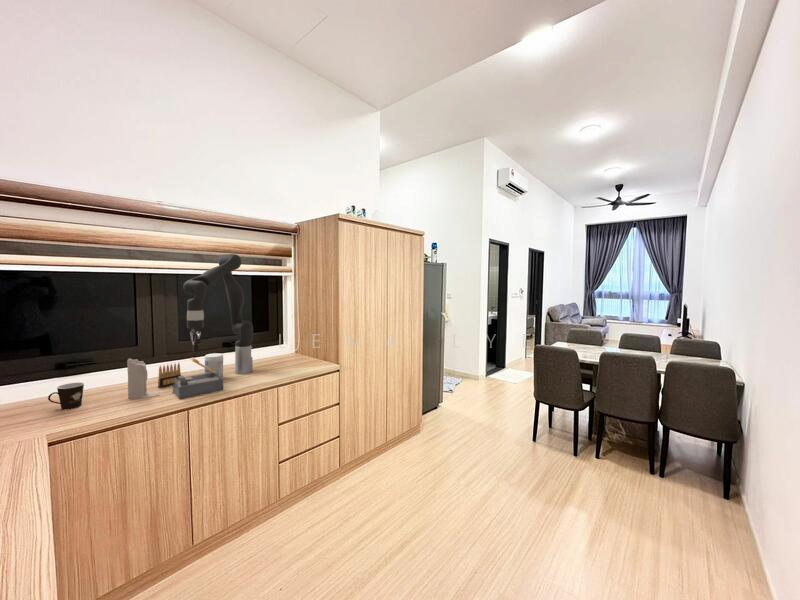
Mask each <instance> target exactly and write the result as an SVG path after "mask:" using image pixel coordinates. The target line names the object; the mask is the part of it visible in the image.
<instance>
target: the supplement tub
mask: <svg viewBox="0 0 800 600" xmlns="http://www.w3.org/2000/svg"><path fill="white" fill-rule="evenodd" d="M204 366H206V367H208V368H209V369H211V370H215V372H216V373H217V372H218V373H219V377H221V378H222V379H224V354H223V353H221V352H220V353H218V352H217V353H216V352H215V353H208V354H205V356H204ZM209 372H211V371H209V370H207V369H205V368H204V373H209Z"/></svg>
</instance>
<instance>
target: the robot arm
mask: <svg viewBox="0 0 800 600" xmlns="http://www.w3.org/2000/svg"><path fill="white" fill-rule="evenodd" d="M241 265H242V258H241V257H240V256H239V255H238V254H233V253H231V254H229V253H228V254H221V255H219V257H218V265H217V266H215V267H211V268H209V269H207V270H206V271H205V272H202V273H201V274H200V275H197V276H195V277H192V278H190V279H188V280H187V281H185V282H184V284H183V287H182V289H183V291H184V292H185V293H186V294H188V295H194V296H193V298H189V299H188V300H187V307H186V308H187V311H186V328H187V329H190V331H189V335H190V342H191V343H192V352H193V353H198V352H199V345H200V344H201V342H202V341H201V340H202V337H203V335H202V331H201V330H200V329H204V327H205V312H204V301H205V298H206V296H207V292H208V287H210V286H211V285H213V284H214V283H215V282H217V281H218V280H219V279H221V278H222V279H223V282H224V287H225V292H226V297H227V302H228V306H229V313H230V318H231V329H232V332H233V333H234V334H235V335H238V336H239V337H240V338H239V339H238V340H236V341H235V343H234V346H235V347H234V349H235V350H234V352H235V353H234V354H235V355H234V359H235V360H234V362H235V363H234V365H235V372H234V374H237V375H246V374H249V373H252V372H254V371H253V366H254V365H253V357H252V342H253V340H254V338H253V336H254V326H253V323H252V322H251V321H248V320H243V314H242V312H243V311H242V310H243V307H244V304H245V293H244V291H243V290H244V289H243V288H242V287H241V285H240V284H239V283H238V282H237V280H236V279H235V276H233V275H234V274H233V271H236V270H238V269H239V268H240V267H241Z"/></svg>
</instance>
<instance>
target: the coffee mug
mask: <svg viewBox="0 0 800 600" xmlns="http://www.w3.org/2000/svg"><path fill="white" fill-rule="evenodd" d="M84 385H85V383H84V382H80V381H79V382H70V383H69V382H68V383H64V384H60V385H58V386H57V387H56V389H57V392H56V391H54V392H51V393H50V394H48V396H47V400H48V401H49V402H50V403H52V404H58V405H60V408H61V410H62V411H63V410H65V411H67V410H73V409H78V408H80V407H81V406H82V404H83V395H84ZM55 394H56V395H58V398H59V401H54V400H52V399H51V396H53V395H55Z"/></svg>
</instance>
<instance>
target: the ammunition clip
mask: <svg viewBox="0 0 800 600" xmlns="http://www.w3.org/2000/svg"><path fill="white" fill-rule="evenodd" d="M178 376H182V374H181V365H180V362H178V363H177V364H176V363H171V364H170V365H169V363H168V364H167V365H165V364H163V365H162V366H161V365H159V367H158V378H157V379H158V381H157V387H158V388H159V389H161V388H166V387H171V386H173V381H174V380H178Z"/></svg>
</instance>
